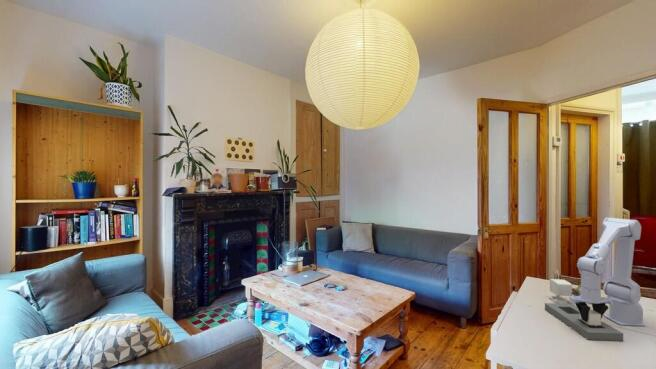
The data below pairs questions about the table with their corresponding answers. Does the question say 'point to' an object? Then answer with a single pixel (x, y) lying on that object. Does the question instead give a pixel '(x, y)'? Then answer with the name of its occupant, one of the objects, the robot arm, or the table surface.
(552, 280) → the security camera
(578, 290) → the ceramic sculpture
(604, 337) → the socket board
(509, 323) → the table surface
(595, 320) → the plug
